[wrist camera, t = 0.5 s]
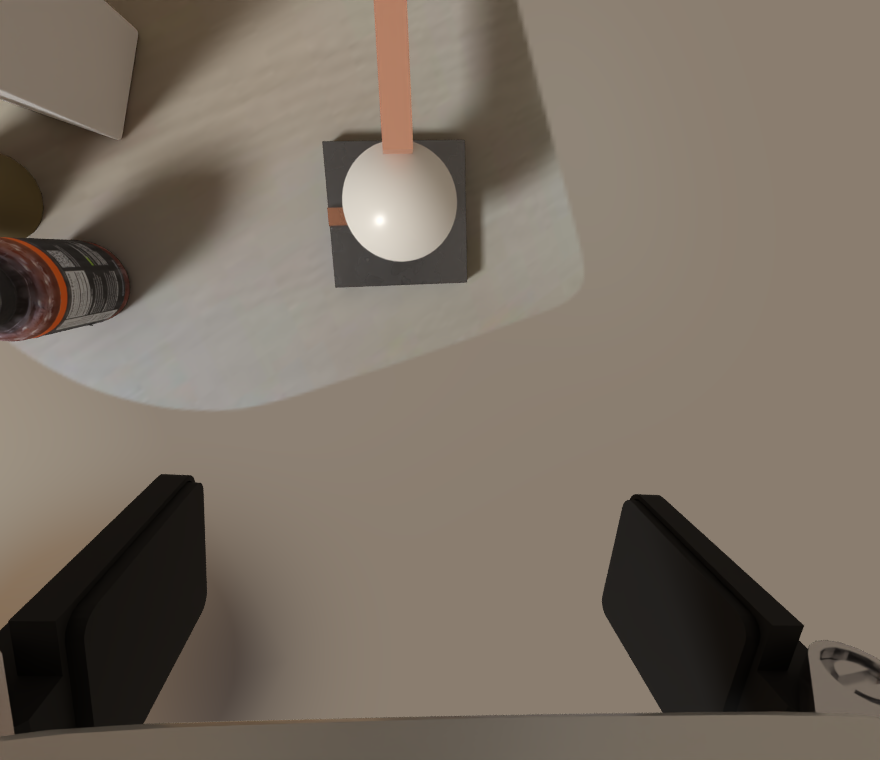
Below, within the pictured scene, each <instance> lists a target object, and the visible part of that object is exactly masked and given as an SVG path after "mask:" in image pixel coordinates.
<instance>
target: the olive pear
mask: <svg viewBox="0 0 880 760" xmlns="http://www.w3.org/2000/svg"><path fill="white" fill-rule="evenodd" d="M43 208H44V207H43V201H42V194H41V192H40V189H39V187H38V185H37V183H36V181H35V179H34V178H33V177H32V176H31V174H30V173H29V172H28V171H27V170H26V169H25V167H23V166H22V165H21V164H19V163H18V162H16V161H15V160H13V159H12V158H11V157H8V156H5V155H3V154H0V237H8V238H26V237H28V236H29V235H30V234H32V233H33V232H34V231H35V230H36V228H37V227H38V225H39V223H40V222H41V219H42V214H43Z"/></svg>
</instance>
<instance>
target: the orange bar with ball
mask: <svg viewBox="0 0 880 760" xmlns="http://www.w3.org/2000/svg"><path fill="white" fill-rule="evenodd" d="M374 12H375V29H376V46H377V63H378V80H379V97H380V114H381V130H382V142H381V143H378V144H375V145H373V146H372V147H370V148H368V149H367V150H365V151H364V152H363V153H362V154H361V155H360V156H359V157H358V158H357V159H356V160H355V161H354V163H353V164H352V166H351V167H350V169H349V171H348V173H347V176H346V178H345V182H344V186H343V193H342V205H343V212H344V216H345V219H346V222H347V224H348V227H349V229H350V230H351V232H352V234H353V235H354V237H355V238H356V239H357V241H358V242H359V243H360V244H361V245H362V246H363V247H364V248H366V249H367V250H368V251H370V252H371V253H373V254H374V255H376V256H379V257H381V258H384V259H387V260H391V261H402V262H404V261H412V260H416V259H419V258H422V257H424V256H426V255H428V254H430V253H431V252H433V251H434V250H435V249H437V248H438V247H439V246H440V245H441V244H442V243H443V241H444V240H445V239H446V237H447V236H448V234H449V232H450V231H451V228H452V226H453V223H454V220H455V217H456V210H457V195H456V189H455V185H454V182H453V179H452V176H451V174H450V172H449V170H448V169H447V167H446V166H445V164H444V163H443V162H442V161H441V159H440V158H439V157H438V156H437V155H436V154H434V153H433V152H432V151H431V150H429V149H428V148H426V147H424V146H422V145H420V144H418V143H415V142H413V133H412V110H411V87H410V64H409V41H408V18H407V0H374Z"/></svg>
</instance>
